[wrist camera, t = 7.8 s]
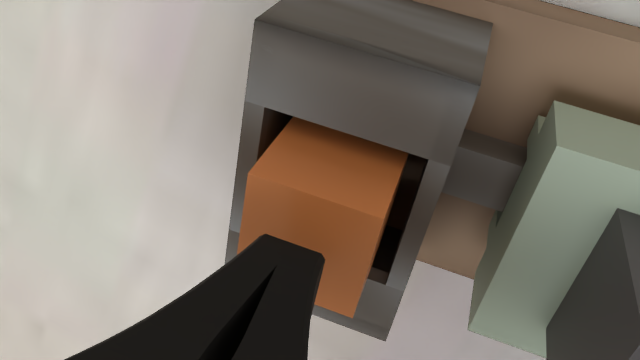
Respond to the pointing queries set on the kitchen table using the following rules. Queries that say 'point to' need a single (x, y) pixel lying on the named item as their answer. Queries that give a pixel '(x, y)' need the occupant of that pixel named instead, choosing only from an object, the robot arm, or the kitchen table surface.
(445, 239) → the rail base
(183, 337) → the robot arm
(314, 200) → the button
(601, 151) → the carriage
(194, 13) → the kitchen table surface
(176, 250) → the kitchen table surface
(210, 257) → the kitchen table surface
